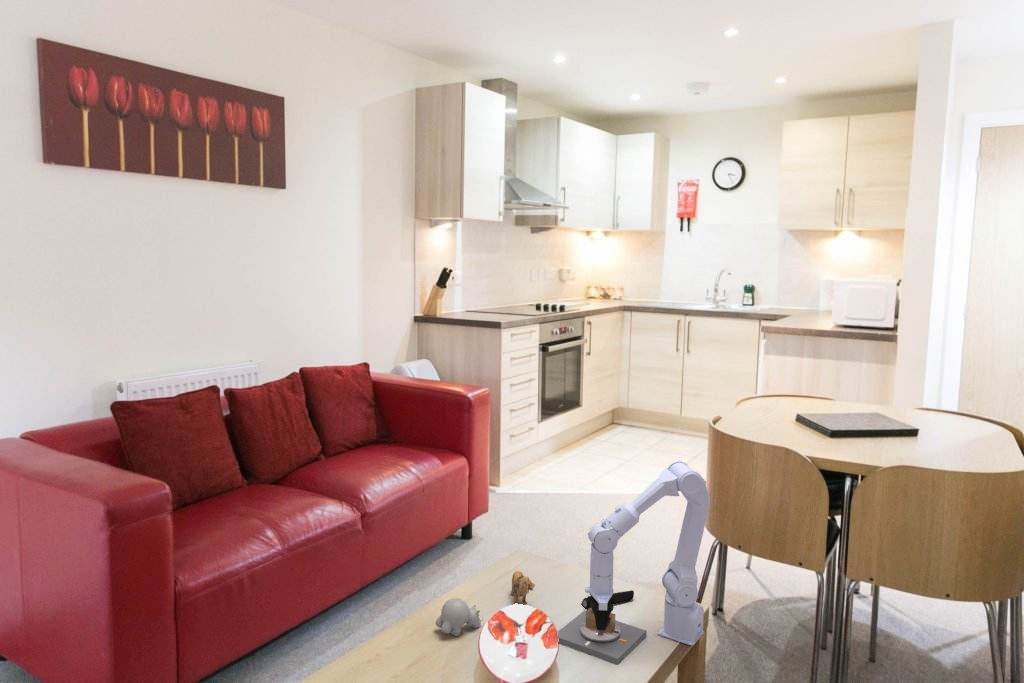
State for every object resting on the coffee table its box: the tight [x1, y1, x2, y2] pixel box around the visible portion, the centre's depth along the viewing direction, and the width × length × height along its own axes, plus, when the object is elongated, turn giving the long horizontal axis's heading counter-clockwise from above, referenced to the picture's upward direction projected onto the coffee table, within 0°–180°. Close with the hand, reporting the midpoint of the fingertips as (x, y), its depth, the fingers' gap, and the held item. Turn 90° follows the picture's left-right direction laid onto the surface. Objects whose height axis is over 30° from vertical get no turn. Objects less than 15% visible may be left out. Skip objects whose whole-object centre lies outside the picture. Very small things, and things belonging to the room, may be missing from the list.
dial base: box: [557, 609, 648, 665], centre depth 183 cm, size 18×16×2 cm
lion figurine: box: [509, 570, 536, 605], centre depth 203 cm, size 15×5×9 cm, turn 16°
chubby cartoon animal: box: [435, 597, 484, 637], centre depth 186 cm, size 7×12×8 cm, turn 114°
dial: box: [580, 608, 620, 642], centre depth 182 cm, size 10×10×5 cm
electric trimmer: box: [580, 590, 635, 610], centre depth 201 cm, size 4×16×3 cm, turn 110°
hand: (600, 623), depth 183 cm, fingers open, 5 cm apart
